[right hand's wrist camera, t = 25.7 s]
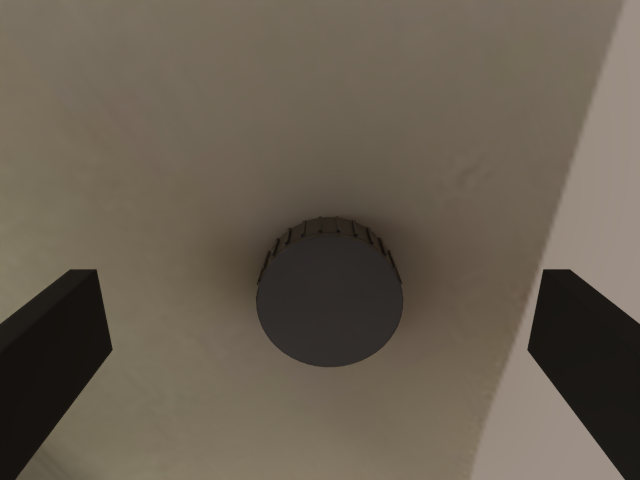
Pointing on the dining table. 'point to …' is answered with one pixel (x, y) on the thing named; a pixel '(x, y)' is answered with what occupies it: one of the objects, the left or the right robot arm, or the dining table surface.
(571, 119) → the dining table surface
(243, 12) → the dining table surface
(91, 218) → the dining table surface
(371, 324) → the lid
